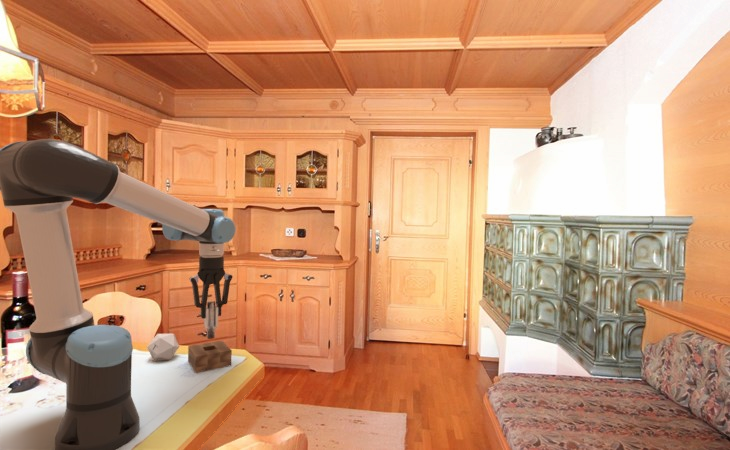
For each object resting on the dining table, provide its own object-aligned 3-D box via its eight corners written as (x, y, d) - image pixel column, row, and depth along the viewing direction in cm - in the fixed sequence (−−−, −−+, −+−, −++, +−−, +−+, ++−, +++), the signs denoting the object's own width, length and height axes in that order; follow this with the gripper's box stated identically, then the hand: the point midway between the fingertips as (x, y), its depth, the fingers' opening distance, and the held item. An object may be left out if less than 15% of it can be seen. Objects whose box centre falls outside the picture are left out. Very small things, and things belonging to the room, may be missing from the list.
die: (147, 358, 129) (139, 341, 123) (169, 339, 135) (163, 322, 129) (163, 371, 126) (156, 354, 120) (186, 351, 132) (180, 334, 126)
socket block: (195, 372, 117) (195, 356, 117) (188, 360, 126) (188, 346, 126) (231, 365, 124) (231, 350, 123) (222, 354, 133) (222, 340, 132)
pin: (208, 339, 123) (208, 303, 123) (206, 337, 125) (206, 301, 125) (215, 338, 125) (216, 302, 124) (213, 336, 127) (214, 300, 126)
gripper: (188, 258, 116) (188, 333, 117) (238, 256, 125) (238, 326, 126) (183, 255, 122) (183, 327, 123) (232, 253, 131) (231, 320, 132)
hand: (211, 326), depth 125 cm, fingers closed on pin, 2 cm apart
